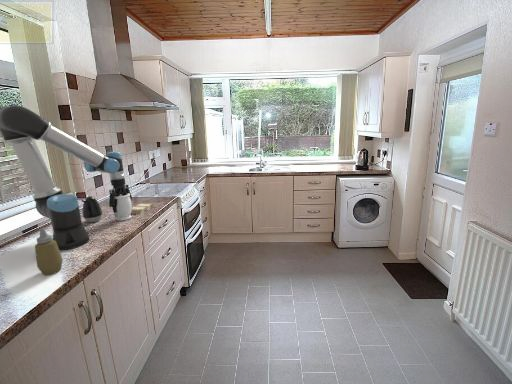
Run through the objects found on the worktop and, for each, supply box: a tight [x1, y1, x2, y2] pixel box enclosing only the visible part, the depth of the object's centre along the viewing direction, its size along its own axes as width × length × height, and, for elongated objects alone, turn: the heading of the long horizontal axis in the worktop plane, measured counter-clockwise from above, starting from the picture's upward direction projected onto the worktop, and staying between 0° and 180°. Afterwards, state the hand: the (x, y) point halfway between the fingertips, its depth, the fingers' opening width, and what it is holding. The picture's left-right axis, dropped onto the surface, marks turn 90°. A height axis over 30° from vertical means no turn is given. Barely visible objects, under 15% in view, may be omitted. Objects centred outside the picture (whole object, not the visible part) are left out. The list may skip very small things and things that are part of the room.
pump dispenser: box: [81, 195, 103, 223], centre depth 162 cm, size 10×10×15 cm
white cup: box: [111, 193, 133, 221], centre depth 165 cm, size 11×10×15 cm
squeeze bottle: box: [34, 227, 63, 276], centre depth 105 cm, size 8×8×18 cm
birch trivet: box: [130, 203, 154, 215], centre depth 182 cm, size 14×9×2 cm, turn 168°
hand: (123, 214), depth 166 cm, fingers closed on white cup, 10 cm apart
